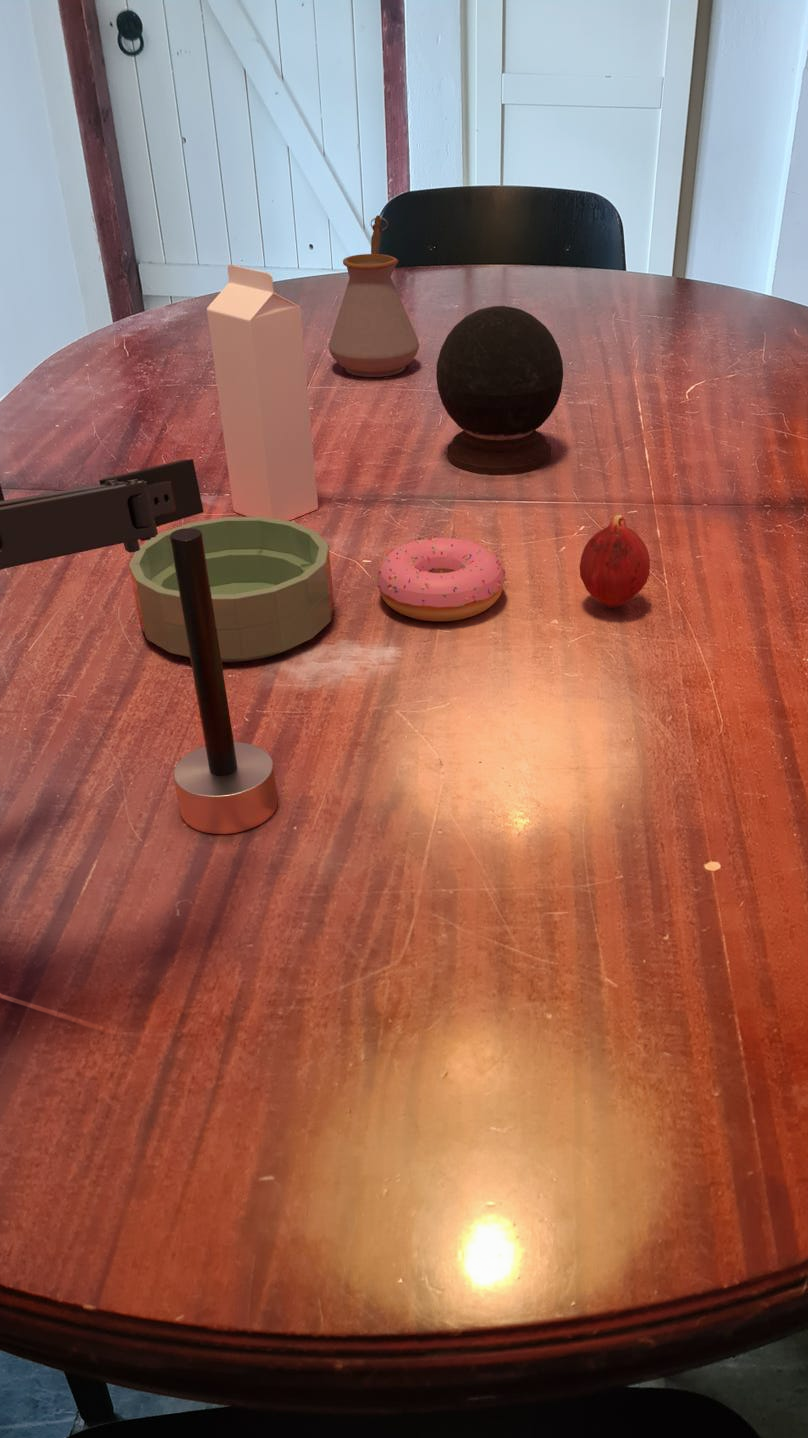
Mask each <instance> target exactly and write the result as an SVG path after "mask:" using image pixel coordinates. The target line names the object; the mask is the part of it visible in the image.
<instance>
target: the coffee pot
mask: <svg viewBox="0 0 808 1438" xmlns="http://www.w3.org/2000/svg"><path fill="white" fill-rule="evenodd" d="M370 220H371V221H370V227H371V229H372V231H373V232H372V235H371V237H370V240H371V241H370V253H362V254H355V255H350V256H347V257H345V258H343V259H342V264H343V266H344V267H346V270H347V273H348V278H349V279H348V282H347V285H346V287H345V291H344V295H343V298H342V301H341V304H340V307H339V310H338V314H337V316H336V319H335V323H334V325H333V326H334V327H333V329H332V333H331V336H330V338H329V341H328V350H329V353H330V355H331V356H332V358H333V359H334V360H335V361H336V362H337V364H338V365H339V366H341V367H343V368H344V370H345V371H346V373H348V374H350V375H353V376H356V377H363V378H383V377H390V376H393V375H397V374H400V373H402V372H404V371H405V370H406V366H408V365H409V364H411V362H412V361H413V360H414V359H415V357H416V356H417V354H418V352H419V348H420V342H419V339H418V337H417V334H416V332H415V330H414V327H413V325H412V322H411V321H410V318H409V316H408V313H407V311H406V308H405V307H404V304H403V302H402V300H401V298H400V295H399V293H398V291H397V288H396V285H395V284H394V282H393V279H392V274H393V273H394V270H395V269H396V266H397V264H398V263H399V260H398V258H396V257H394V256H393V255H392V256H391V255H388V254H383V253H382V254H380V249H381V243H382V237H381V236H382V235H381V233H382V231H385V230H386V229H387V228H388V226H389V223H388V221H387V219H386V218H384V217H381V216H380V215H375V217H374V218H373V219H370ZM382 220H383V221H384V222H385V223H386V225H385V227H384V228H383V226H382V225H381V224H382ZM373 221H374V224H372V223H373Z"/></svg>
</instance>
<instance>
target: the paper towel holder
mask: <svg viewBox="0 0 808 1438" xmlns="http://www.w3.org/2000/svg"><path fill="white" fill-rule="evenodd" d="M170 541H171V547H172V552H173V558H174V564H175V570H176V576H177V582H178V588H179V594H180V600H181V605H182V611H183V617H184V623H185V629H186V635H187V641H188V647H189V653H190V658H189V659H190V664H191V669H192V675H193V682H194V688H195V693H196V699H197V700H196V701H197V704H198V710H199V718H200V723H201V729H202V735H203V740H204V741H203V742H204V746H200V747H198V748H195V749H193V750H192V751H190V752H188V753H186V754H185V755H184V756H183V757H182V758H180V760H178V762H177V763H176V765H175V767H174V769H173V780H174V786H175V791H176V796H177V803H178V807H179V813H180V817H181V818H182V820H183V821H184V823H185V824H187V825H188V826H189V827H190V828H192V829H194V830H196V831H199V832H202V833H204V834H205V833H206V834H212V835H229V834H230V835H231V834H238V833H242V832H245V831H249V830H252V829H254V828H256V827H258V826H260V825H261V824H264V823H265V822H267V820H269V819H270V818H271V817H272V816H273V814H274V813H275V812H276V810H277V809H278V808H277V807H278V805H279V798H278V791H277V783H276V774H275V768H274V762H273V758H272V757H271V755H270V754H269V753H268V752H267V751H266V750H265V749H263V748H262V747H260V746H258V745H255V744H251V743H247V742H241V741H234V734H233V728H232V727H233V726H232V721H231V715H230V709H229V702H228V695H227V689H226V688H227V687H226V682H225V676H224V669H223V662H221V655H220V649H219V642H218V636H217V629H216V623H215V616H214V609H213V603H212V596H211V590H210V583H209V577H208V570H207V564H206V557H205V551H204V544H203V537H202V533H201V531H200V530H198V529H194V528H184V529H179V530H176V531H174V532H172V533H171V534H170Z"/></svg>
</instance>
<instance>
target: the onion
mask: <svg viewBox="0 0 808 1438" xmlns="http://www.w3.org/2000/svg"><path fill="white" fill-rule="evenodd" d="M626 523H627V517H624V515H622V514H616V515H614V516H612V519H611V521H610V522H609V525H608V526H606V527H605V528H603V529H601V530H599V531H598V532H596V533H595V534H593V536H591V537H590V539H589V540H588V541H587V543H586V544H585V546H584V548H583V551H582V554H581V557H580V562H579V576H580V579H581V581H582V582H583V585H584V588H585V590H586V591H587V592H588V593H589V595H590V596H591V597H593V598H594V599H595V600H597V601H598V602H599V603H601V604H602V605H604V606H606V607H608V608H610V609H611V608H614V609H615V608H617V607H619V606H620V605H622V604H624V603H626V602H628V601H630V600H631V599H633V598H634V597H635V596H636V595H637V594H639V593H640V592H641V591H642V589H643V588H644V587H645V585H646V584H647V582H648V580H649V576H650V571H651V570H650V569H651V558H650V554H649V553H650V552H649V550H648V547H647V546H646V543H645V542H644V540H642V539H643V538H641V537H640V535H638V533H636V532H635V531H634V530H633V529H631V528H630V527H628V526H627V524H626Z"/></svg>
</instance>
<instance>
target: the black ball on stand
mask: <svg viewBox="0 0 808 1438" xmlns="http://www.w3.org/2000/svg"><path fill="white" fill-rule="evenodd" d="M435 372H436V374H435V376H436V377H435V379H436V385H437V391H438V395H439V399H440V400H441V403H442V406H443V408H444V410H445V411H446V413H447V415H448V416H449V418H451V420H453V422H454V423H455V425H457V426H458V427H459V428H460V429H461V430H462V431H459V432H458V433H457V434H455V436H453V438H452V441H450V443H449V444H448V446H447V449H446V450H447V451H446V453H447V460H448V461H449V463H450V464H452V465H453V466H454V467H456V468H459V469H461V470H464V471H467V472H471V473H476V474H481V475H499V476H501V475H502V476H503V475H516V474H523V473H527V472H528V473H529V472H531V471H535V470H538V469H540V468H542V467H545V465H547V464H548V463H549V462H550V461H551V459H552V450H553V449H552V446H551V444H550V443H549V442H548V440H547V438H546V436H545V435H544V434H543V433H541V432H540V431H538V429H539V428H540V427H542V425H544V424H545V422H546V421H547V420H548V419H549V417H550V416H551V415H552V413H553V411H554V410H555V409H556V406H557V404H558V403H559V399H560V396H561V393H562V388H563V380H564V362H563V359H562V354H561V351H560V348H559V346H558V343H557V342H556V339H555V338H554V335H553V334H552V332H550V330H549V329H548V327H547V326H546V325H545V324H544V323H542V321H540V320H539V319H537V317H535V316H534V315H533V314H531V313H529V312H527V311H525V310H523V309H521V308H517V307H513V306H507V305H492V306H487V307H483V308H479V309H477V310H475V311H474V312H471V313H470V314H468V315H465V317H463V319H461V320H460V321H459V322H458V323H456V324H455V325H454V326H453V328H452V329H451V330H450V332H449V333H448V334H447V336H446V338H445V339H444V342H443V344H442V345H441V347H440V350H439V354H438V357H437V362H436V371H435Z"/></svg>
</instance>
